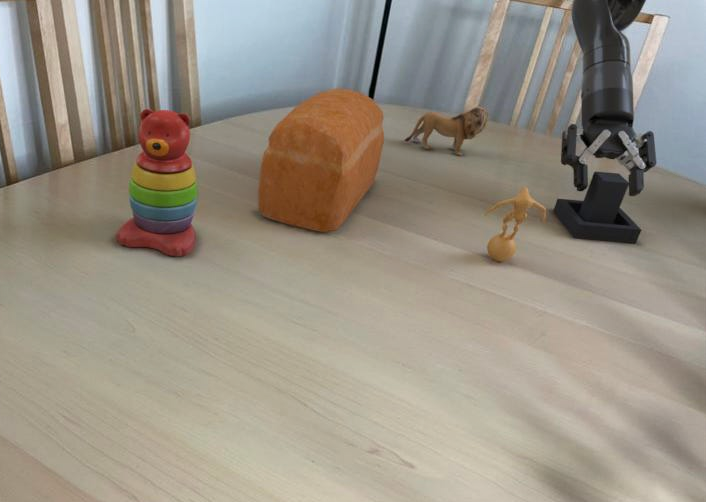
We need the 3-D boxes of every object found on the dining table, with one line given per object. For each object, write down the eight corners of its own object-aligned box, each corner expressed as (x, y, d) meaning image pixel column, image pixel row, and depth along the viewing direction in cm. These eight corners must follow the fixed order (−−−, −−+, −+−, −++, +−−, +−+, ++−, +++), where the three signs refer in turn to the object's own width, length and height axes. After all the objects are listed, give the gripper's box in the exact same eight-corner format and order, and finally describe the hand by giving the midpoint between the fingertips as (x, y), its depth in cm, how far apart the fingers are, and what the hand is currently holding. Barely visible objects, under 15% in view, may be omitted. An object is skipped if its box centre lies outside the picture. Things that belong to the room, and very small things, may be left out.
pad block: (600, 219, 123) (619, 173, 119) (610, 230, 120) (629, 183, 115) (577, 217, 123) (594, 171, 118) (586, 227, 120) (604, 180, 115)
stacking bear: (111, 244, 103) (110, 115, 92) (138, 215, 111) (140, 95, 101) (185, 259, 101) (192, 130, 91) (207, 229, 109) (216, 108, 99)
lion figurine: (477, 149, 149) (489, 104, 144) (479, 159, 144) (492, 112, 139) (403, 139, 150) (413, 94, 145) (403, 147, 146) (413, 101, 141)
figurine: (523, 256, 110) (549, 180, 103) (532, 276, 105) (561, 197, 98) (467, 250, 111) (489, 173, 104) (473, 269, 106) (498, 190, 99)
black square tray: (610, 216, 126) (616, 203, 125) (635, 243, 118) (641, 229, 116) (552, 211, 126) (557, 198, 124) (573, 238, 117) (579, 224, 116)
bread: (379, 181, 130) (398, 89, 121) (336, 238, 110) (354, 134, 101) (305, 163, 134) (318, 74, 125) (250, 216, 114) (260, 113, 105)
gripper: (575, 81, 117) (576, 178, 114) (664, 89, 117) (667, 186, 114) (552, 105, 124) (553, 197, 121) (636, 112, 125) (639, 204, 122)
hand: (608, 191), depth 118 cm, fingers open, 8 cm apart
